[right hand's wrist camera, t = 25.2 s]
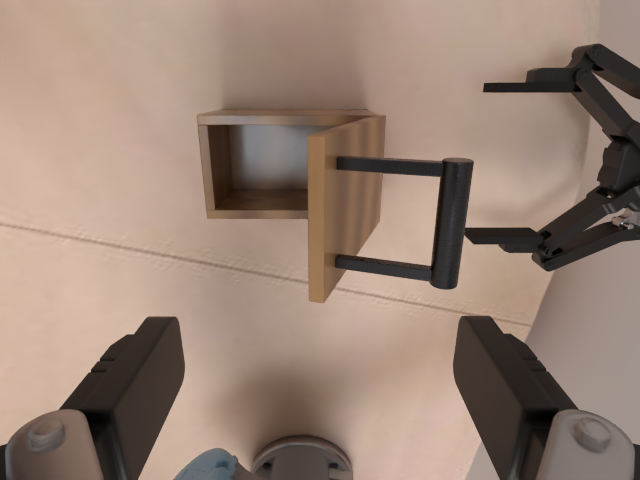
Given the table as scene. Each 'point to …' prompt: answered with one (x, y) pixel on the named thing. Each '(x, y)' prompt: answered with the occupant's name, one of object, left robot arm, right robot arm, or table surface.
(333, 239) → the lid
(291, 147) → the wooden box
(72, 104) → the table surface
